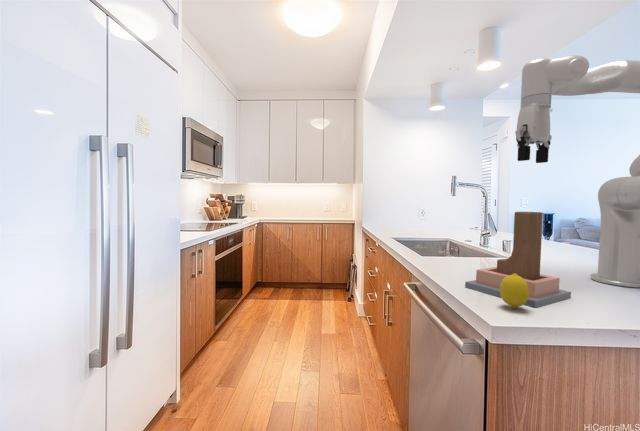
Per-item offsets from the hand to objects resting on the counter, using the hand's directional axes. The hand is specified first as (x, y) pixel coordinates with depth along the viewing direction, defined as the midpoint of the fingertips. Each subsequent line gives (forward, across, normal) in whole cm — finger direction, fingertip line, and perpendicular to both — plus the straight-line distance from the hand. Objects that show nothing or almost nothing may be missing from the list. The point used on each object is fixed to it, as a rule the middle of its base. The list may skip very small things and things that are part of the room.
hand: (532, 161), depth 91 cm
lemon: (+36, +30, +13) cm, 49 cm away
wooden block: (+33, +16, +6) cm, 37 cm away
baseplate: (+36, +17, +6) cm, 41 cm away
